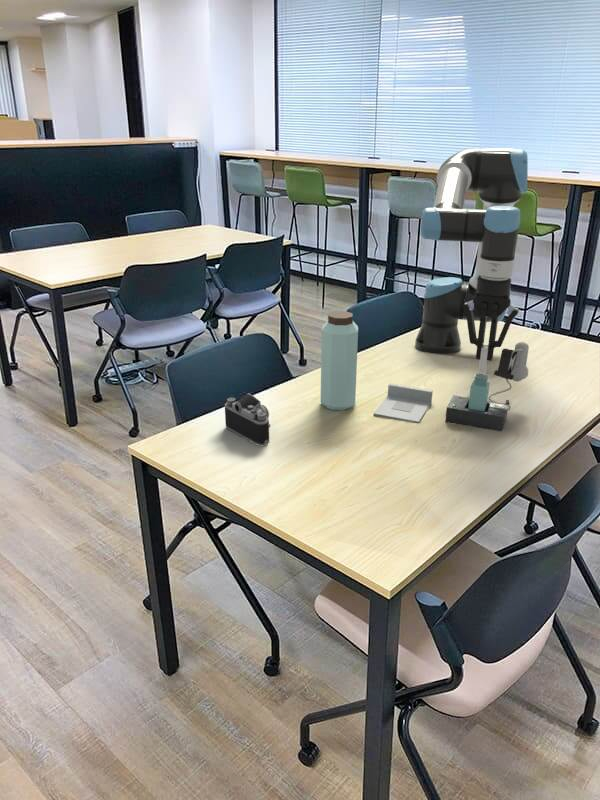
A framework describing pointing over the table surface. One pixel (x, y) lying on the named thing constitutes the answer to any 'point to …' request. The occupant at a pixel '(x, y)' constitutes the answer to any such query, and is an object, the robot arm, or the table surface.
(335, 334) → the water bottle
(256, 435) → the camera
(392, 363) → the table surface
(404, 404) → the grey lipped plate
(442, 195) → the robot arm
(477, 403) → the plug
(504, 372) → the clip-on lamp
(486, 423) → the port
